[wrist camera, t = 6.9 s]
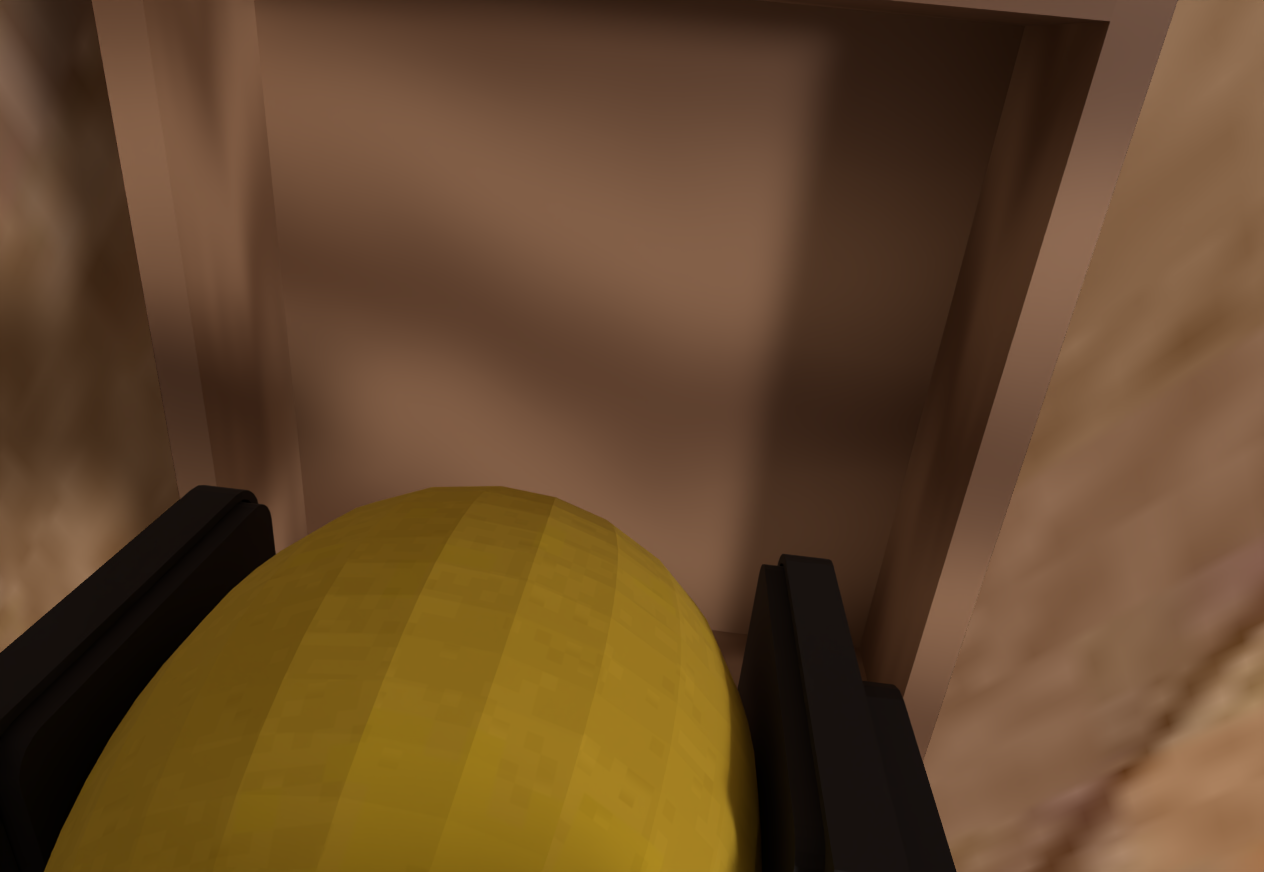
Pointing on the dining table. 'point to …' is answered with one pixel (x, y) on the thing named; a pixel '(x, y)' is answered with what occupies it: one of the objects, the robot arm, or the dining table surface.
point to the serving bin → (634, 268)
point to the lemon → (435, 710)
